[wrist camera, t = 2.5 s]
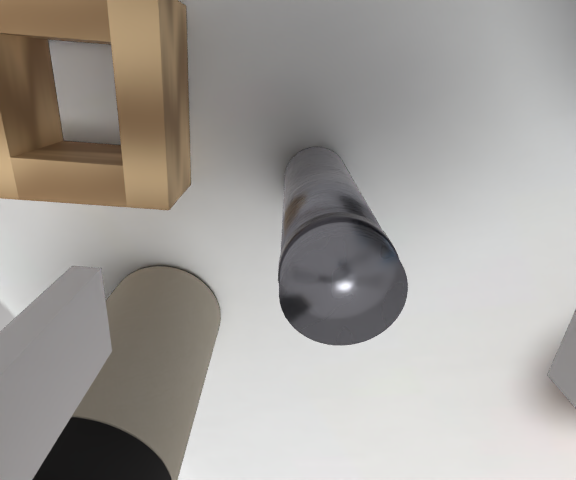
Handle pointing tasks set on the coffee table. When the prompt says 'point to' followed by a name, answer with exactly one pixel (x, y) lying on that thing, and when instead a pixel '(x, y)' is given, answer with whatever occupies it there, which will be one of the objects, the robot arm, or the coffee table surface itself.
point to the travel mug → (142, 382)
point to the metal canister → (335, 255)
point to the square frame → (129, 93)
